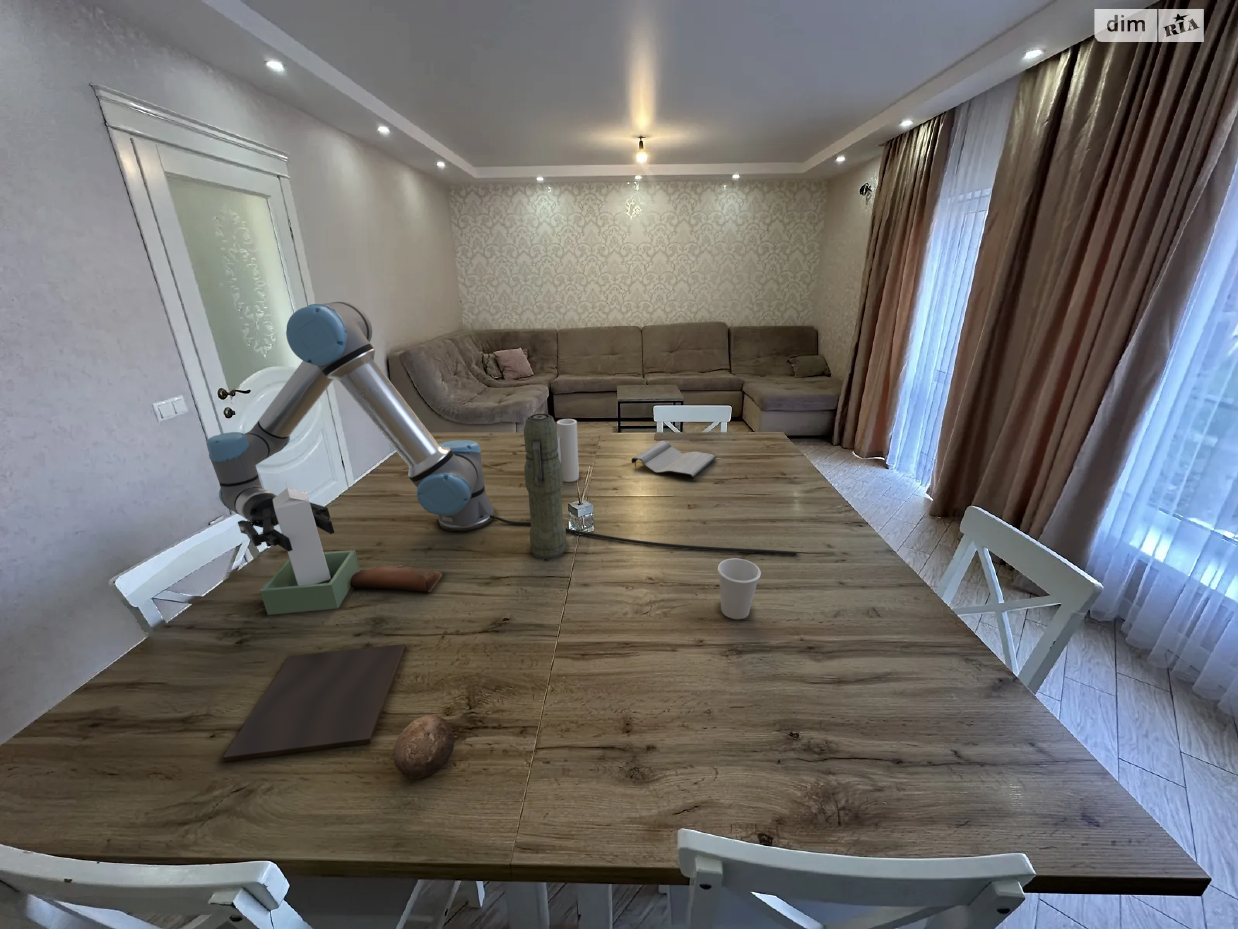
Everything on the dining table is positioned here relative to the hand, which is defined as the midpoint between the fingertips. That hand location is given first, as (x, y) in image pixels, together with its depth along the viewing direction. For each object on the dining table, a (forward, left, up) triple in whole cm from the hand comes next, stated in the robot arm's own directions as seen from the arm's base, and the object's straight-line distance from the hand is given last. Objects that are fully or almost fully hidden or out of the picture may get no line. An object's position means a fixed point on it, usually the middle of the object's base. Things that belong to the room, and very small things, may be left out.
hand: (310, 536), depth 98 cm
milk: (+3, -3, -12) cm, 13 cm away
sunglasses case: (-13, -4, -16) cm, 21 cm away
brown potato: (-29, +42, -16) cm, 53 cm away
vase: (-52, -58, -16) cm, 80 cm away
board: (-10, +28, -16) cm, 34 cm away
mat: (-93, -64, -16) cm, 115 cm away
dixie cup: (-85, +17, -16) cm, 88 cm away
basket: (+4, -3, -16) cm, 16 cm away
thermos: (-47, -13, -16) cm, 52 cm away
